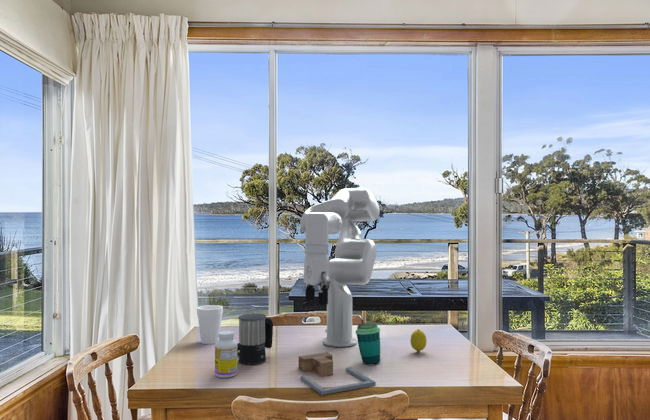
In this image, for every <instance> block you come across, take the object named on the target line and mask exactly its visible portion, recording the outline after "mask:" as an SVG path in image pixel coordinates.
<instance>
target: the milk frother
mask: <svg viewBox="0 0 650 420" xmlns="http://www.w3.org/2000/svg"><path fill="white" fill-rule="evenodd" d="M237 318H238V328H239V329H238V334H239V335H238V336H239V337H238V342H237V357H238V358H237V363H239V364H242V365H249V366H250V365H252V366H253V365H260V364H262V363H265V362H266V361H267V355H266V354H267V353H266V349H271V348H272V347H273V335H274V323H273V320H272V319H271V318H269V317H267V316H266V314H263V313H254V312H253V313H245V314H241V315H239V316H238V317H237Z"/></svg>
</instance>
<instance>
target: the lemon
mask: <svg viewBox="0 0 650 420" xmlns="http://www.w3.org/2000/svg"><path fill="white" fill-rule="evenodd" d="M409 341H410V345H411V347H412V349H413V350H415V351H416V352H417V353H420V352H421V351H423V350H424V349H425V348H426V346H427V335H426V334H425V332H424V331H422V330H420V328H419V329H418V328H417V329H416V330H414V331H413V332H412V333H411V335H410V339H409Z"/></svg>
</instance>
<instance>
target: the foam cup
mask: <svg viewBox="0 0 650 420" xmlns="http://www.w3.org/2000/svg"><path fill="white" fill-rule="evenodd" d="M223 313H224V307H223V305H218V304H207V305H206V304H205V305H201V306H198V307H196V314H197V318H198V326H199V334H200V335H199V336H200V342H201V344H202V345H215V343H216V342H217V341H218V340H219V337H218V333H219V332H221V326H222V325H221V324H222V317H223Z"/></svg>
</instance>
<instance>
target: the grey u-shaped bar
mask: <svg viewBox="0 0 650 420" xmlns="http://www.w3.org/2000/svg"><path fill="white" fill-rule="evenodd" d="M345 368H346V373H348V374H350V375H352V376H353V377H354V378H356V379H359V380H360V381H361V382H360V381H359V382H355V383H349V384H343V385H337V386H333V387H332V386H331V387H327V388H324V387H323V386H321V385H320V384H319V383H317V382H316V381H314V380H313V379H311V378H310V377H309V376H307V375H306V374H302V375H300V377H299V378H300V381H302V382H304V383H305V384H306V385H308V386H309V387H310V388H312V389H313V390H314V391H316V392H317V393H318V394H320V395H321V396H324V395H329V394H335V393H341V392H346V391H347V392H348V391H351V390H357V389H358V390H359V389H362V388H367V387H368V388H369V387H373V386H376V383H377V382H376V381H375V380H374V379H372V378H370V377H368V376H366V375H364V374H362V373H361V372H360V371H358V370H356V369H354V368H352V367H345Z"/></svg>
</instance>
